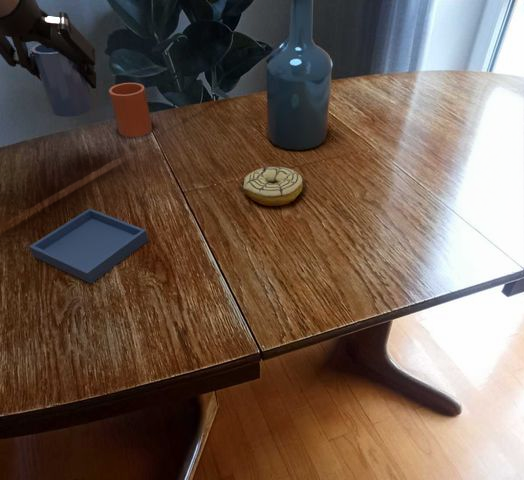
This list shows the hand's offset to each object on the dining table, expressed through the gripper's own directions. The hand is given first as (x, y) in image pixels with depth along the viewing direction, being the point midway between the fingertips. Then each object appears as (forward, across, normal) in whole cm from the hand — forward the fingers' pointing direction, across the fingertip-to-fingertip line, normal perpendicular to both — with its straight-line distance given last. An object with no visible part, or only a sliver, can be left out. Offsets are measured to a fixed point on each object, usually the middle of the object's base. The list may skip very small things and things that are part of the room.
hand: (72, 81), depth 86 cm
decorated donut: (+2, +38, -20) cm, 43 cm away
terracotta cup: (+20, +6, -2) cm, 21 cm away
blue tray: (-11, +8, -32) cm, 35 cm away
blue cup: (0, 0, -5) cm, 5 cm away
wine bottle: (+19, +42, -4) cm, 46 cm away
